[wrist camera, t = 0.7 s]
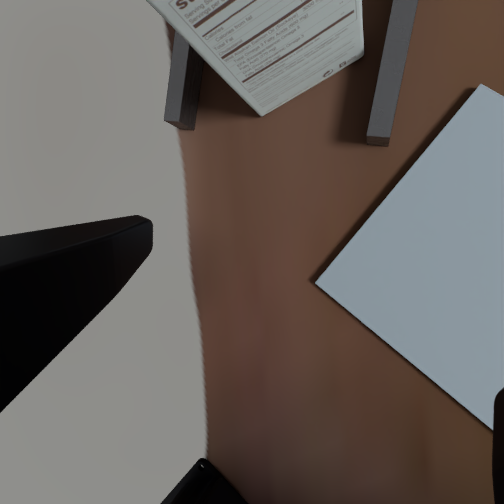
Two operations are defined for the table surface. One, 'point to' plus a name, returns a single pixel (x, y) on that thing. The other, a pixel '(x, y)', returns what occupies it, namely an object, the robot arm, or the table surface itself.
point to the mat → (439, 259)
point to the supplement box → (270, 42)
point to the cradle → (386, 94)
